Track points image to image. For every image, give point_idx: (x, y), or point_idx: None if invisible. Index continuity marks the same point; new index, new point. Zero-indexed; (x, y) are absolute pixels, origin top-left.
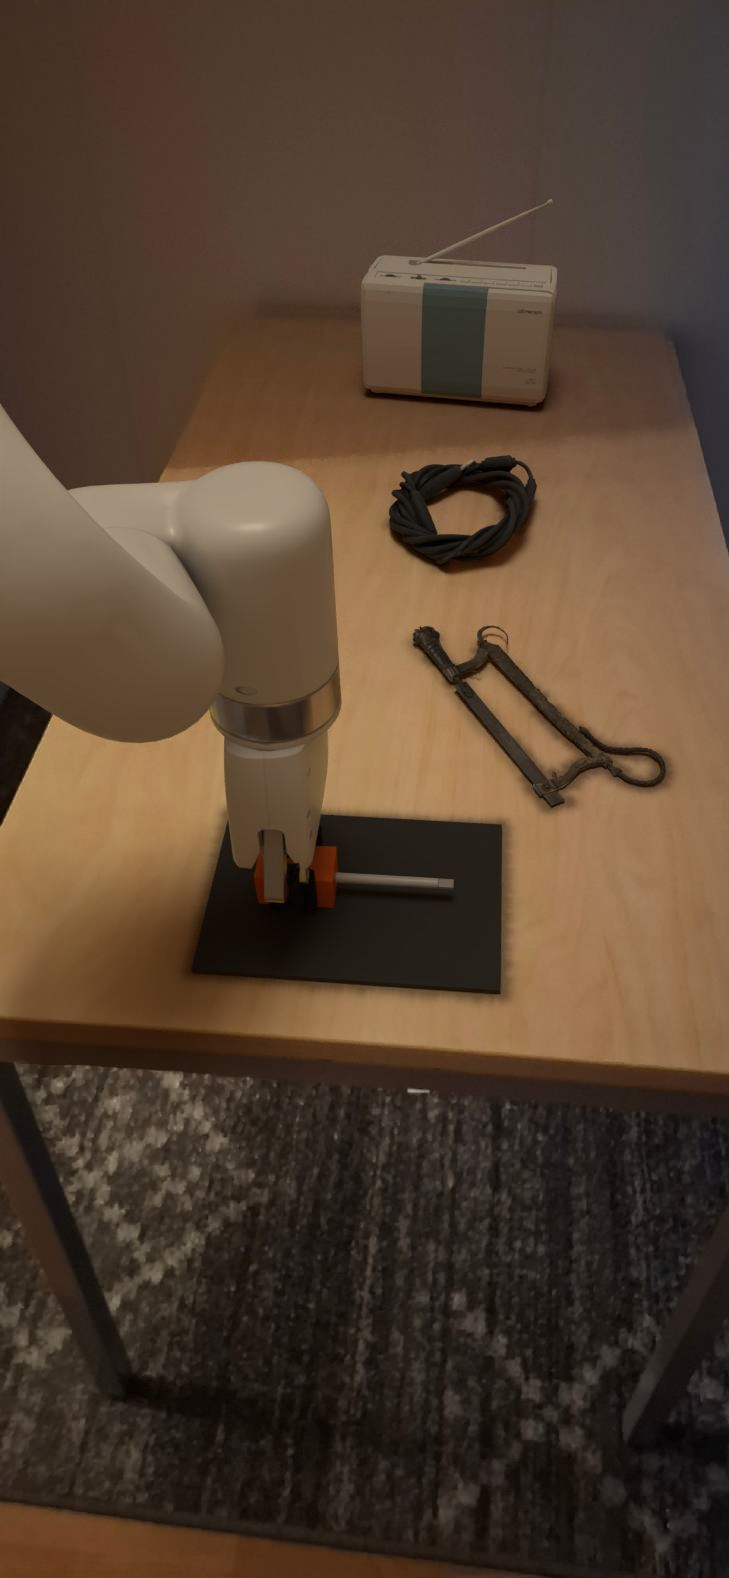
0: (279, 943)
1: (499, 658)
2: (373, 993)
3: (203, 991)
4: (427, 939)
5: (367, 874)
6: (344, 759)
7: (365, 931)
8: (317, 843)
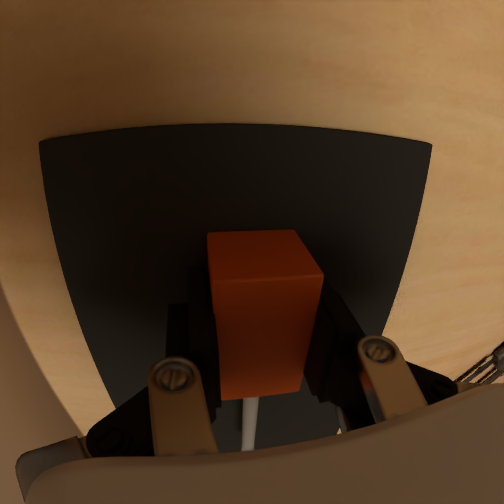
0: (125, 283)
1: (493, 378)
2: (97, 384)
3: (17, 173)
4: None
5: (256, 403)
6: (466, 289)
7: None
8: (305, 375)
